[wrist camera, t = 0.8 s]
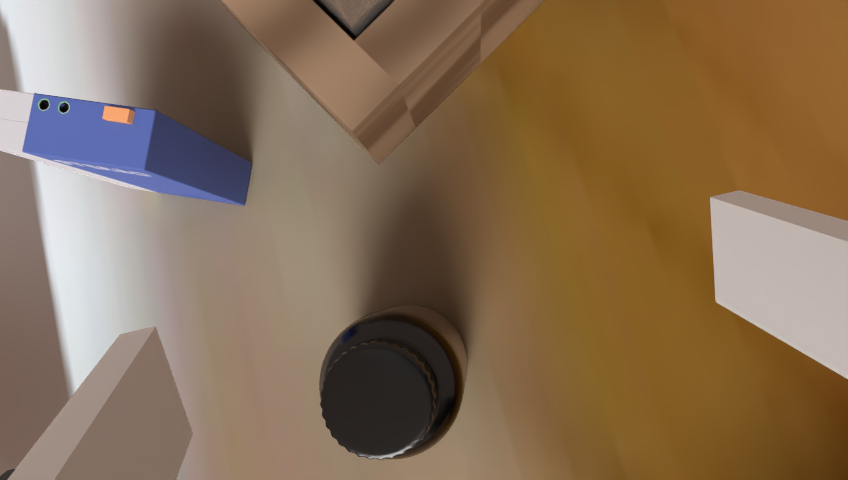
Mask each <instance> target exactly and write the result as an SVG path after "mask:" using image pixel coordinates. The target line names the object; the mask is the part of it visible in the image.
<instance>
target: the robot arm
mask: <svg viewBox="0 0 848 480" xmlns="http://www.w3.org/2000/svg"><path fill="white" fill-rule="evenodd" d="M710 205H711V224H712V242H713V261H714V280H715V298H716V302H717V303H718V304H720V305H722V306H724V307H725V308H727V309H729V310H730V311H732V312H734V313H736V314H737V315H739V316H741V317H742V318H744V319H746V320H748V321H749V322H751V323H753V324H754V325H756V326H758V327H759V328H761V329H763V330H765V331H766V332H768V333H770V334H771V335H773V336H775V337H777V338H778V339H780V340H782V341H783V342H785V343H787V344H789V345H790V346H792V347H794V348H795V349H797V350H799V351H800V352H802V353H804V354H806V355H807V356H809V357H811V358H812V359H814V360H816V361H818V362H819V363H821V364H823V365H824V366H826V367H828V368H830V369H831V370H833V371H835V372H836V373H838V374H840V375H841V376H843V377H845V378H847V379H848V221H846V220H842V219H839V218H835V217H832V216H828V215H824V214H821V213H817V212H814V211H810V210H807V209H803V208H800V207H796V206H793V205H789V204H786V203H782V202H779V201H775V200H772V199H768V198H765V197H761V196H757V195H754V194H750V193H747V192H743V191H740V190H739V191H735V192H730V193H726V194H722V195H717V196H713V197H710ZM192 434H193V432H192V430H191V427H190V424H189V421H188V418H187V415H186V412H185V409H184V407H183V404H182V401H181V398H180V395H179V392H178V389H177V386H176V384H175V381H174V378H173V375H172V372H171V369H170V366H169V363H168V360H167V358H166V355H165V352H164V349H163V346H162V343H161V340H160V337H159V335H158V332H157V329H156V326H155V327H151V328H147V329H142V330H138V331H134V332H129V333H125V334H121V335H119V337H118V338H117V339H116V340H115V342H114V343H113V344H112V346H111V347H110V348H109V349H108V351H107V352H106V353H105V355H104V356H103V357H102V358H101V360H100V361H99V362H98V364H97V365H96V366H95V367H94V369H93V370H92V371H91V373H90V374H89V375H88V376H87V378H86V379H85V380H84V382H83V383H82V384H81V385H80V387H79V388H78V389H77V391H76V392H75V393H74V394H73V396H72V397H71V398H70V400H69V401H68V402H67V404H66V405H65V406H64V408H63V409H62V410H61V411H60V413H59V414H58V415H57V417H56V418H55V419H54V420H53V422H52V423H51V424H50V425H49V427H48V428H47V429H46V430H45V432H44V433H43V434H42V436H41V437H40V438H39V440H38V441H37V442H36V443H35V445H34V446H33V447H32V449H31V450H30V451H29V452H28V454H27V455H26V456H25V458H24V459H23V460H22V461H21V463H20V464H19V465H18V467H17V468H16V469H12V470H8V471H6V472H5V473H4V474H3V475H1V476H0V480H176V478H177V475H178V473H179V470H180V467H181V464H182V462H183V459H184V456H185V453H186V451H187V448H188V445H189V442H190V440H191V437H192Z"/></svg>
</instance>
